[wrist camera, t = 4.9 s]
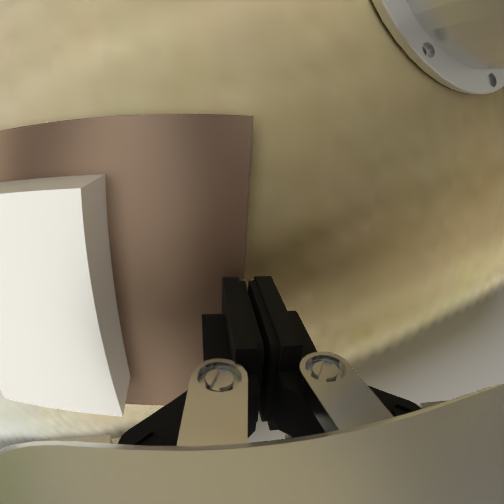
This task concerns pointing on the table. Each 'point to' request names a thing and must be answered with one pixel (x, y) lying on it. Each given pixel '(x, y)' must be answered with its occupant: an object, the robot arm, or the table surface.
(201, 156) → the brown wooden block
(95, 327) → the tile
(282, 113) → the table surface
